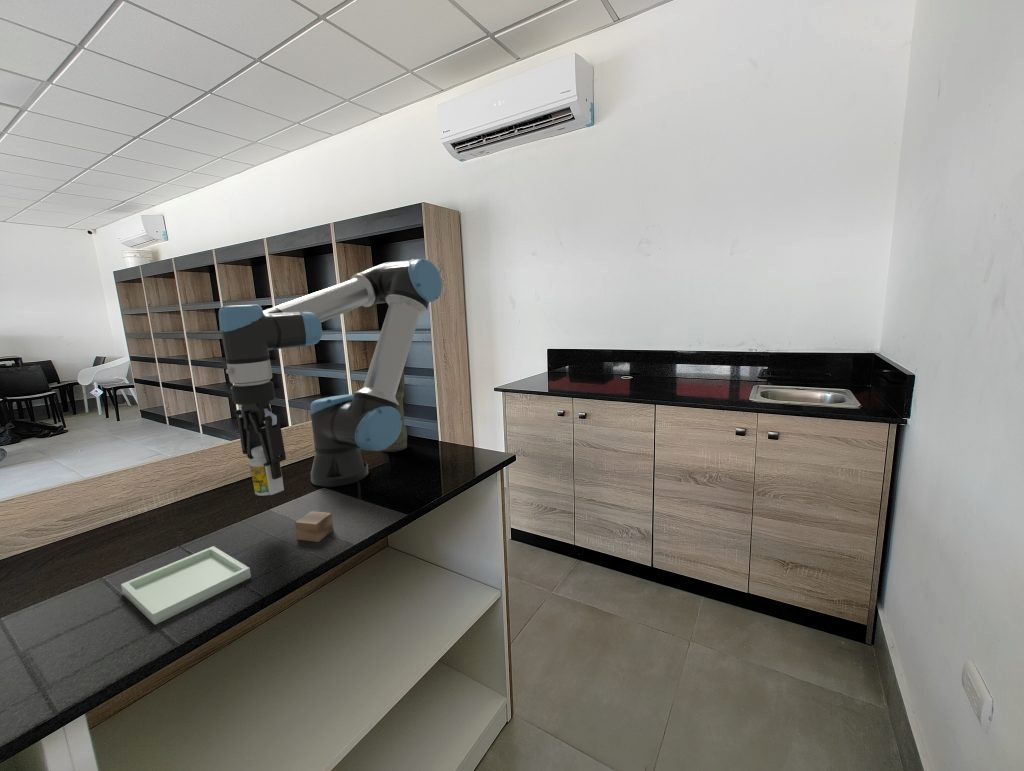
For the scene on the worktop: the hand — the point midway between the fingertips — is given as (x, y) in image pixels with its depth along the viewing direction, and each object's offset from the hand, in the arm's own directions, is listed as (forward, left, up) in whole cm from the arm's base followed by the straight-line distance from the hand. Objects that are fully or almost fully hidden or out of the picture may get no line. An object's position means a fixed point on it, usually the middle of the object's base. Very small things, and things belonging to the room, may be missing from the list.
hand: (269, 488), depth 93 cm
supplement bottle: (0, 0, -1) cm, 1 cm away
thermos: (-52, -21, -9) cm, 57 cm away
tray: (+19, +7, -9) cm, 22 cm away
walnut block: (-3, +10, -9) cm, 14 cm away
